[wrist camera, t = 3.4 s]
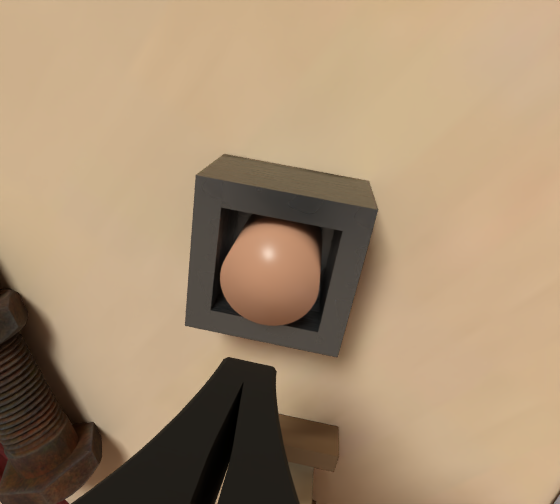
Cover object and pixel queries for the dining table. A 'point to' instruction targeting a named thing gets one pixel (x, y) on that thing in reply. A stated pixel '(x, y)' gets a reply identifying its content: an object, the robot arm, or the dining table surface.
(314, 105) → the dining table surface
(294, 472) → the peg
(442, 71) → the dining table surface
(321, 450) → the socket
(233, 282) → the release button
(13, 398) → the bolt
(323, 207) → the button housing
